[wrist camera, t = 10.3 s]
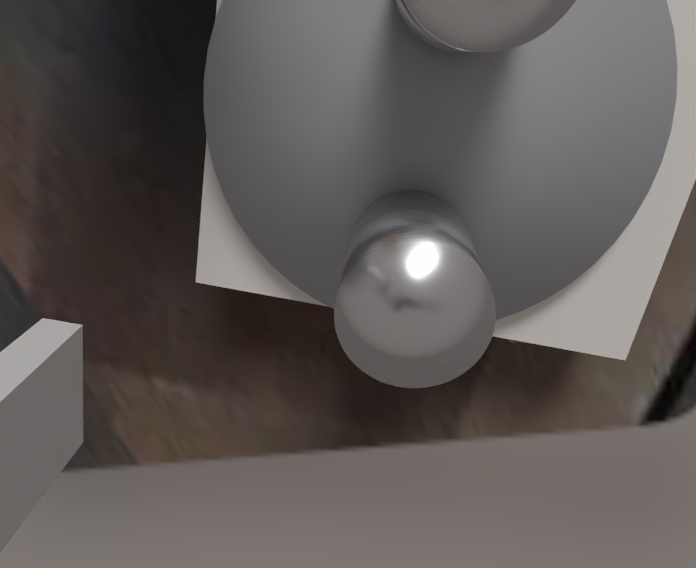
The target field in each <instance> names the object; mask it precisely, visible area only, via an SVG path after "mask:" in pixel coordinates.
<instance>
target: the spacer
mask: <svg viewBox="0 0 696 568" xmlns="http://www.w3.org/2000/svg"><path fill="white" fill-rule="evenodd" d="M334 324H335V329H336V334H337V336H338V339H339V342H340V344H341V346H342V348H343V350H344V351H345V353H346V354H347V356H348V357H349V359H350V360H351V361H352V362H353V363H354V364H355V365H356V366H357V367H358V368H359V369H361V370H362V371H363V372H364V373H366V374H367V375H369V376H370V377H372V378H374V379H376V380H378V381H380V382H383V383H386V384H389V385H393V386H397V387H404V388H425V387H432V386H436V385H440V384H443V383H446V382H448V381H451V380H453V379H455V378H457V377H458V376H460V375H462V374H463V373H465V372H466V371H467V370H468V369H470V368H471V367H472V366H473V365H474V364H475V363H476V362H477V361H478V360H479V359H480V358H481V356H482V355H483V353H484V352H485V351H486V349H487V347H488V345H489V343H490V341H491V338H492V336H493V333H494V329H495V324H496V304H495V299H494V295H493V292H492V290H491V287H490V285H489V282H488V280H487V277H486V275H485V273H484V270H483V268H482V265H481V263H480V261H479V258H478V256H477V254H476V251H475V249H474V246H473V244H472V242H471V239H470V237H469V234H468V232H467V230H466V227H465V225H464V222H463V221H462V219H461V217H460V216H459V214H458V213H457V212H456V210H455V209H454V208H453V207H452V206H451V205H450V204H448V203H447V202H446V201H444V200H443V199H441V198H439V197H437V196H435V195H433V194H430V193H427V192H423V191H417V190H403V191H396V192H393V193H389V194H387V195H384V196H382V197H380V198H378V199H377V200H375V201H374V202H372V203H371V204H370V205H369V206H368V207H367V208H366V209H365V210H364V211H363V212H362V213H361V214H360V216H359V217H358V219H357V220H356V222H355V224H354V227H353V229H352V232H351V236H350V240H349V244H348V249H347V253H346V258H345V262H344V266H343V271H342V275H341V279H340V284H339V288H338V292H337V297H336V301H335V307H334Z"/></svg>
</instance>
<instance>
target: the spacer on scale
mask: <svg viewBox="0 0 696 568" xmlns="http://www.w3.org/2000/svg"><path fill="white" fill-rule="evenodd" d="M395 1H396V5H397V8H398V10H399V13H400V15H401V17H402V19H403V20H404V22H405V24H406V25H407V26H408V28H409V29H410V30H411V31H412V32H413V33H414V34H415V35H416V36H417V37H418V38H419V39H420V40H422V41H423V42H425V43H426V44H428V45H430V46H432V47H434V48H437V49H439V50H443V51H447V52H497V51H503V50H509V49H512V48H515V47H518V46H521V45H523V44H526V43H528V42H530V41H532V40H534V39H536V38H537V37H539V36H540V35H542V34H544V33H545V32H546V31H548V30H549V29H550V28H551V27H553V26H554V25H555V24H556V23H557V22H558V21H559V20H560V19H561V18H562V17H563V16H564V15H565V14H566V13H567V12H568V11H569V9H570V8H571V7H572V5H573V4H574V3H575V2H576V0H395Z"/></svg>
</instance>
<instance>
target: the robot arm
mask: <svg viewBox="0 0 696 568" xmlns="http://www.w3.org/2000/svg"><path fill="white" fill-rule="evenodd" d="M82 443H83V325H80V324H74V323H68V322H62V321H56V320H51V319H45V318H42V319H41V320H40V321H39V322H37V323H36V324H35V325H34V326H33V327H31V328H30V329H29V330H28V331H26V332H25V333H24V334H23V335H21V336H20V337H19V338H18V339H16V340H15V341H14V342H13V343H11V344H10V345H9V346H8V347H6V348H5V349H4V350H3V351H2V352H0V552H1V551H2V549H3V548H4V547H5V545H6V544H7V543H8V541H9V540H10V539H11V537H12V536H13V535H14V533H15V532H16V531H17V529H18V528H19V527H20V525H21V524H22V523H23V521H24V520H25V519H26V517H27V516H28V515H29V513H30V512H31V511H32V509H33V508H34V507H35V505H36V504H37V503H38V501H39V500H40V499H41V497H42V496H43V495H44V493H45V492H46V491H47V489H48V488H49V487H50V485H51V484H52V483H53V481H54V480H55V479H56V477H57V476H58V475H59V473H60V472H61V471H62V470H63V468H64V467H65V466H66V464H67V463H68V462H69V460H70V459H71V458H72V456H73V455H74V454H75V452H76V451H77V450H78V448H79V447H80V446H81V444H82Z"/></svg>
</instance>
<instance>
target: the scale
mask: <svg viewBox="0 0 696 568" xmlns="http://www.w3.org/2000/svg"><path fill="white" fill-rule="evenodd" d="M204 119H205V128H206V136H207V139H206V152H205V165H204V178H203V191H202V204H201V218H200V231H199V244H198V257H197V270H196V283H202V284H207V285H213V286H218V287H224V288H229V289H235V290H240V291H246V292H251V293H257V294H262V295H268V296H273V297H279V298H284V299H290V300H295V301H301V302H307V303H312V304H318V305H323V306H329V307H331V308H333V309H334V307H335V301H336V297H337V292H338V288H339V284H340V279H341V275H342V271H343V266H344V262H345V258H346V253H347V249H348V244H349V240H350V236H351V232H352V229H353V227H354V224H355V222H356V220H357V219H358V217H359V216H360V214H361V213H362V212H363V211H364V210H365V209H366V208H367V207H368V206H369V205H370V204H371V203H372V202H374V201H375V200H377V199H378V198H380V197H382V196H384V195H387V194H389V193H393V192H396V191H403V190H417V191H423V192H427V193H430V194H433V195H435V196H437V197H439V198H441V199H443V200H444V201H446V202H447V203H448V204H450V205H451V206H452V207H453V208H454V209H455V210H456V212H457V213H458V214H459V216H460V217H461V219H462V221H463V222H464V225H465V227H466V230H467V232H468V234H469V237H470V239H471V242H472V244H473V246H474V249H475V251H476V254H477V256H478V258H479V261H480V263H481V265H482V268H483V270H484V273H485V275H486V277H487V280H488V282H489V285H490V287H491V290H492V292H493V295H494V299H495V304H496V324H495V329H494V333H493V336H494V337H498V338H501V339H505V340H508V341H509V342H512V343H516V342H519V343H532V344H538V345H543V346H549V347H554V348H560V349H565V350H571V351H576V352H582V353H587V354H593V355H598V356H604V357H609V358H615V359H620V360H626V358H627V355H628V352H629V350H630V347H631V345H632V342H633V340H634V337H635V334H636V332H637V329H638V327H639V324H640V321H641V319H642V316H643V314H644V311H645V309H646V306H647V303H648V301H649V298H650V296H651V293H652V291H653V288H654V285H655V283H656V280H657V278H658V275H659V272H660V270H661V267H662V265H663V262H664V260H665V257H666V254H667V252H668V249H669V247H670V244H671V242H672V239H673V236H674V234H675V231H676V229H677V226H678V223H679V221H680V218H681V216H682V213H683V211H684V208H685V205H686V203H687V200H688V198H689V195H690V192H691V190H692V187H693V185H694V182H695V180H696V0H576V2H575V3H574V4H573V5H572V7H571V8H570V9H569V11H568V12H567V13H566V14H565V15H564V16H563V17H562V18H561V19H560V20H559V21H558V22H557V23H556V24H555V25H554V26H553V27H551V28H550V29H549V30H548V31H546V32H545V33H544V34H542V35H540V36H539V37H537V38H536V39H534V40H532V41H530V42H528V43H526V44H523V45H521V46H518V47H515V48H512V49H509V50H503V51H497V52H447V51H443V50H439V49H437V48H434V47H432V46H430V45H428V44H426V43H425V42H423V41H422V40H420V39H419V38H418V37H417V36H416V35H415V34H414V33H413V32H412V31H411V30H410V29H409V28H408V26H407V25H406V24H405V22H404V20H403V19H402V17H401V15H400V13H399V10H398V8H397V5H396V1H395V0H217V8H216V19H215V23H214V27H213V31H212V34H211V38H210V42H209V46H208V52H207V59H206V66H205V74H204Z"/></svg>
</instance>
